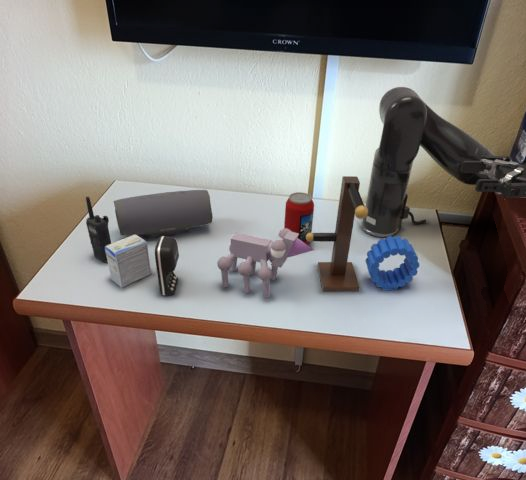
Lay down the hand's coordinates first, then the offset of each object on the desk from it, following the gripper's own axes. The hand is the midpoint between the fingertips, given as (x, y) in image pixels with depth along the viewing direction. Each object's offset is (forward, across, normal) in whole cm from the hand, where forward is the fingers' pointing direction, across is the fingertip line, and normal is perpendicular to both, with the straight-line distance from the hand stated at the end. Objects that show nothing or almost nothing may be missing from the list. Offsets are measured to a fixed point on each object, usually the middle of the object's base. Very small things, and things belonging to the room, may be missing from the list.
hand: (468, 175), depth 97 cm
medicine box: (+69, +2, -25) cm, 73 cm away
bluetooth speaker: (+63, +23, -25) cm, 72 cm away
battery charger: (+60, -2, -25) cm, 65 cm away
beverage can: (+30, +18, -25) cm, 43 cm away
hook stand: (+24, -2, -25) cm, 35 cm away
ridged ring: (+11, 0, -25) cm, 28 cm away
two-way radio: (+76, +11, -25) cm, 81 cm away
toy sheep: (+39, -1, -25) cm, 46 cm away
